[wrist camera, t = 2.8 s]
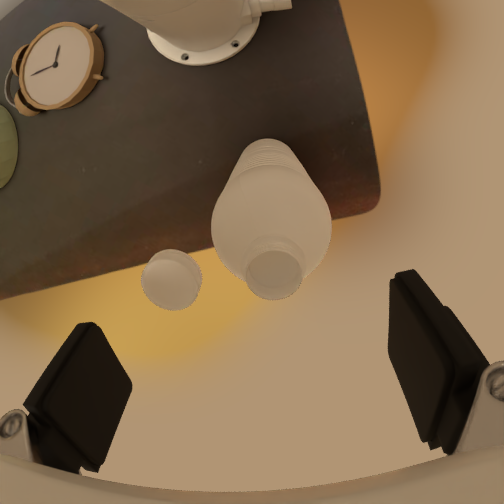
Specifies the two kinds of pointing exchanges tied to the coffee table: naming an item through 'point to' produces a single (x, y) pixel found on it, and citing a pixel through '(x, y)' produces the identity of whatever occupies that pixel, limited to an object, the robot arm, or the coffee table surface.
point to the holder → (7, 146)
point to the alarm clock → (56, 68)
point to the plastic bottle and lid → (253, 231)
